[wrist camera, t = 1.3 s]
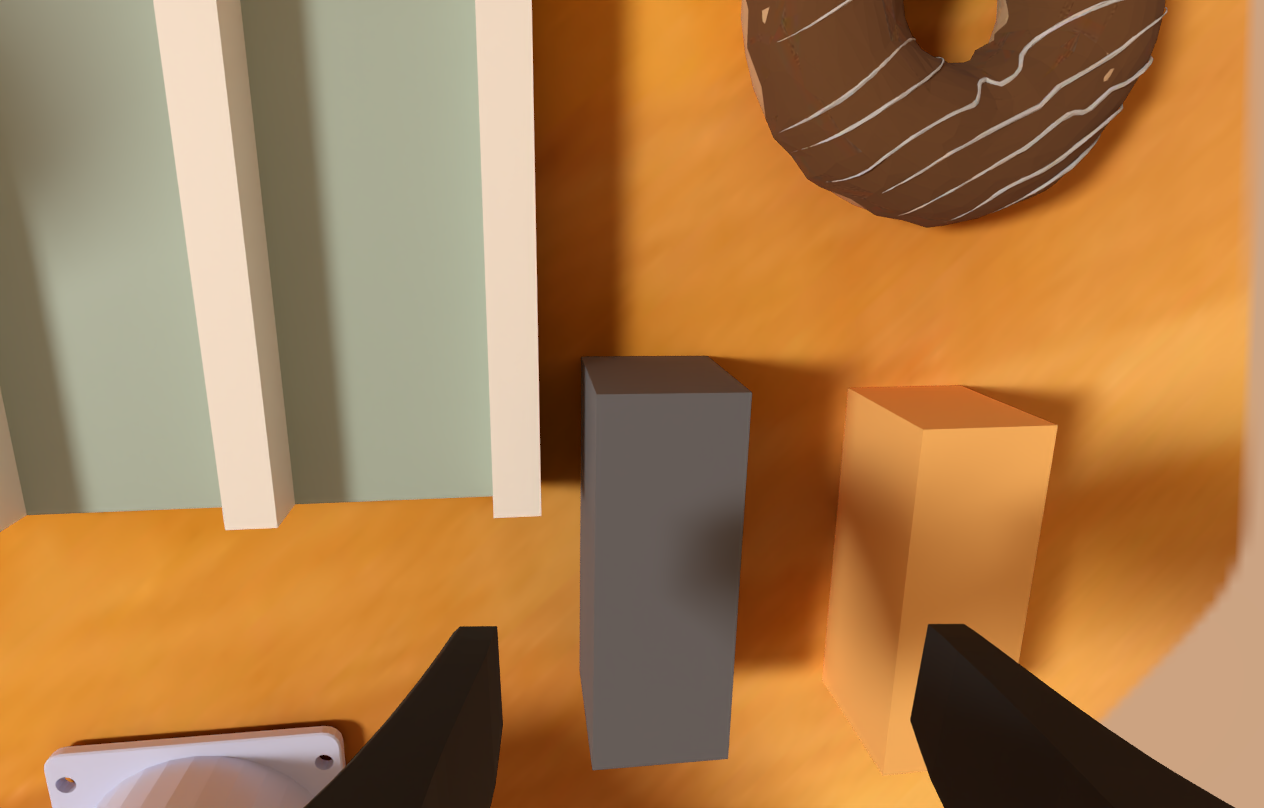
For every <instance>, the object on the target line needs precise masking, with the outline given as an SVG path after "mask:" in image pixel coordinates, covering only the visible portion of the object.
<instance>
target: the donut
mask: <svg viewBox="0 0 1264 808" xmlns="http://www.w3.org/2000/svg"><path fill="white" fill-rule="evenodd" d="M1164 7H1165V0H997V16H996V23H995V26H994V29H993V32H992V35H991V38H990V41H989V43H988V44H986V45H984V46H983V47H981V48H979V49H977V50H975V52H974V54H973V56H972V58H971V60H970V61H967V62H964V63H947V62H946V61H944V59H943V58H941V57H933V56H932V55H930V54H928V53H927V52H925V51H923V50H922V49H921V48H920V47H919V45H918V44H917V43H916V41H915V40H916V39H915V38H914V37H912V34H911V32H910V29H909V27H908V24H907V22H906V19H905V13H904V3H903V0H742V9H741V22H742V30H743V38H744V47H745V54H746V59H747V63H748V67H749V72H750V76H751V80H752V85H753V89H754V92H755V94H756V96H757V99H758V101H759V103H760V106H761V108H762V111H763V113H764V115H765V118H766V120H767V123H768V125H769V128H770V130H771V133H772V135H773V138H774V139H775V140H776V141H777V142H778V143H779V144H780V145H781V146H782V147H783V148H784V149H785V150H786V151H787V152H788V153H789V154H790V155H791V156H792V157H793V159H794V160H795V162H796V163H797V165H798V166H799V168H800V169H801V170H802V172H803V173H804V175H805V176H806V178H807V179H808V180H810V181H812V182H813V183H815V184H816V185H818V186H820V187H822V188H824V189H827V190H829V191H831V192H833V193H834V194H836V195H837V196H839V197H841V198H842V199H844V200H846V201H848V202H850V203H851V204H853V205H855V206H858V207H861V208H864V209H867V210H868V211H870V212H871V213H873V214H874V215H876V216H882V217H888V218H893V219H899V220H904V221H908V222H911V223H914V224H917V225H920V226H923V227H935V226H943V225H948V224H953V223H957V222H962V221H967V220H972V219H976V218H979V217H982V216H984V215H987V214H989V213H992V212H996V211H998V210H1000V209H1003V208H1005V207H1008V206H1010V205H1012V204H1015V203H1018V202H1020V201H1023V200H1025V199H1028V198H1030V197H1032V196H1035V195H1037V194H1039V193H1041V192H1043V191H1045V190H1047V189H1048V188H1050V187H1051V186H1052V185H1053V184H1055V183H1056V182H1057V181H1058V180H1059V179H1060V178H1061V177H1062V176H1063V175H1064V174H1065V173H1067V172H1068V171H1070V170H1071V169H1073V168H1074V167H1075V166H1076V165H1077V164H1078V163H1079V162H1080V161H1081V160H1082V159H1083V158H1084V157H1085V156H1086V155H1087V154H1088V153H1089V151H1090V150H1091V149H1092V147H1093V146H1094V145H1095V144H1096V142H1097V141H1098V139H1099V137H1100V135H1101V132H1102V131H1103V130H1104V128H1105V127H1106V125H1107V124H1108V123H1109V122H1110V121H1111V120H1112V119H1113V118H1114V117H1115V116H1116V115H1117V114H1118V113H1120V112H1121V110H1122V109H1123V102H1124V100H1125V99H1126V97H1127V96H1128V94H1129V92H1130V91H1131V89H1132V87H1133V86H1134V84H1135V82H1136V81H1137V79H1138V77H1139V76H1140V75H1141V74H1143V73H1144V72H1145V71H1146V70H1147V69H1148V67H1149V66H1150V65H1151V64H1152V62H1153V57H1152V56H1151V53H1152V51H1153V48H1154V45H1155V43H1156V40H1157V37H1158V33H1159V29H1160V25H1161V21H1162V17H1163V16H1164V15H1165V14H1166V13H1167V10H1166V12H1165V13H1164V15H1163V12H1164ZM1165 8H1166V7H1165ZM1166 9H1167V8H1166ZM938 58H940V59H938ZM1148 61H1149V62H1148ZM1147 62H1148V63H1147ZM1119 107H1120V109H1119ZM1118 109H1119V110H1118ZM1117 110H1118V111H1117Z"/></svg>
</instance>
